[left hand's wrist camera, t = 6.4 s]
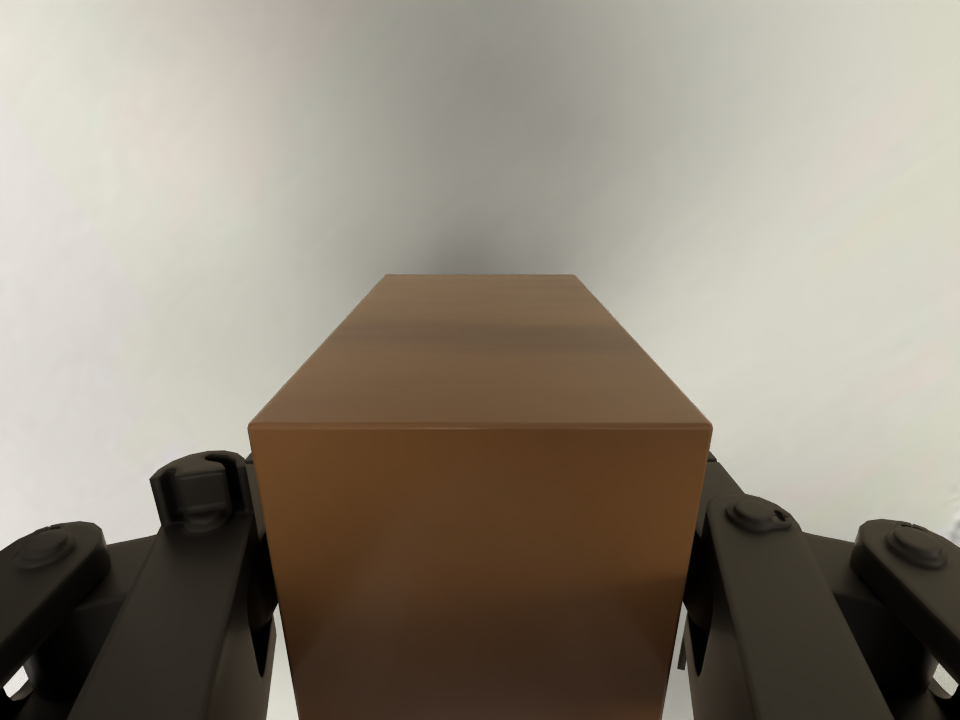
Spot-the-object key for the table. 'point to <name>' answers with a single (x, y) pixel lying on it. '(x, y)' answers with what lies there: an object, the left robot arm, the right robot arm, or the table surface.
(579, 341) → the bar
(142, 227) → the table surface
